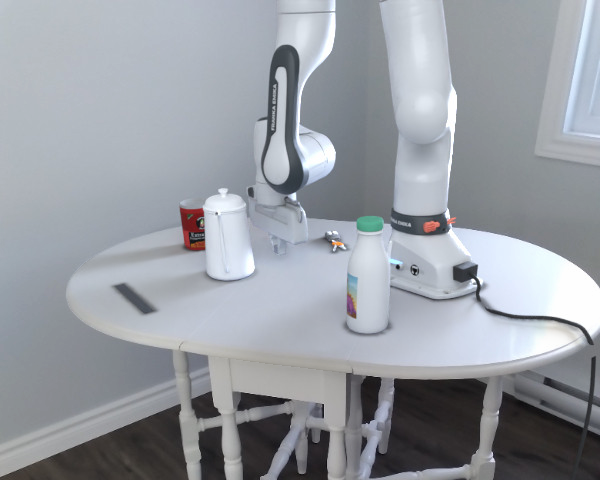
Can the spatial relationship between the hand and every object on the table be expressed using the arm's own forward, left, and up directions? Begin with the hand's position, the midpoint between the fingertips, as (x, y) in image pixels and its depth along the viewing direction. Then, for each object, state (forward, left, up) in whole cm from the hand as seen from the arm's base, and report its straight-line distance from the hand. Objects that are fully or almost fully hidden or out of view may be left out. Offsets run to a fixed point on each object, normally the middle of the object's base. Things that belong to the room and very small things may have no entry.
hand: (279, 253), depth 149 cm
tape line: (0, +36, -2) cm, 36 cm away
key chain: (+3, -18, -2) cm, 18 cm away
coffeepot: (0, +13, -2) cm, 13 cm away
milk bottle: (-40, +5, -2) cm, 40 cm away
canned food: (+23, +10, -2) cm, 25 cm away
